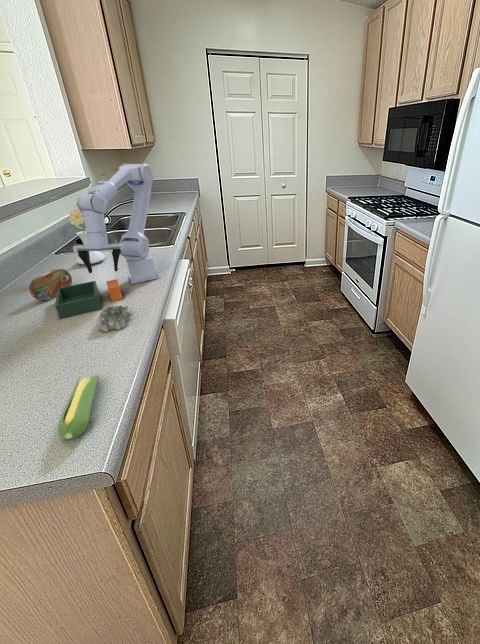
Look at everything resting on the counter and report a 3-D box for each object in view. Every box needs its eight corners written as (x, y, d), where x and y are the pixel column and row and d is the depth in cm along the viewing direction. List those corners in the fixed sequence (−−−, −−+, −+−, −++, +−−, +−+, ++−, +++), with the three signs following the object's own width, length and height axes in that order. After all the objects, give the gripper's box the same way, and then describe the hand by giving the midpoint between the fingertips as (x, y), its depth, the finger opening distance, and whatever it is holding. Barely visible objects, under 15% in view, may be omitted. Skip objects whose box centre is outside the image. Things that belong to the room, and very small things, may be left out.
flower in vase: (72, 263, 148) (52, 207, 137) (97, 256, 157) (80, 202, 146) (88, 269, 142) (68, 210, 131) (113, 261, 151) (97, 205, 140)
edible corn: (57, 449, 62) (48, 432, 60) (81, 381, 78) (75, 365, 76) (88, 441, 63) (80, 424, 61) (105, 375, 80) (100, 360, 78)
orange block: (120, 291, 122) (117, 279, 120) (122, 298, 117) (119, 285, 114) (110, 293, 120) (106, 281, 118) (111, 301, 115) (107, 288, 113)
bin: (99, 291, 122) (95, 280, 120) (101, 308, 110) (97, 296, 108) (61, 299, 117) (57, 288, 115) (60, 318, 105) (55, 306, 103)
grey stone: (124, 329, 99) (121, 317, 97) (97, 333, 97) (92, 321, 95) (131, 312, 108) (128, 301, 106) (106, 315, 106) (103, 304, 104)
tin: (40, 304, 114) (31, 282, 110) (33, 303, 115) (23, 281, 111) (75, 286, 127) (68, 265, 123) (68, 285, 128) (60, 265, 124)
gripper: (68, 234, 103) (76, 276, 107) (120, 232, 109) (126, 272, 113) (72, 231, 109) (80, 271, 114) (122, 229, 115) (127, 268, 119)
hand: (103, 271), depth 114 cm, fingers open, 7 cm apart
